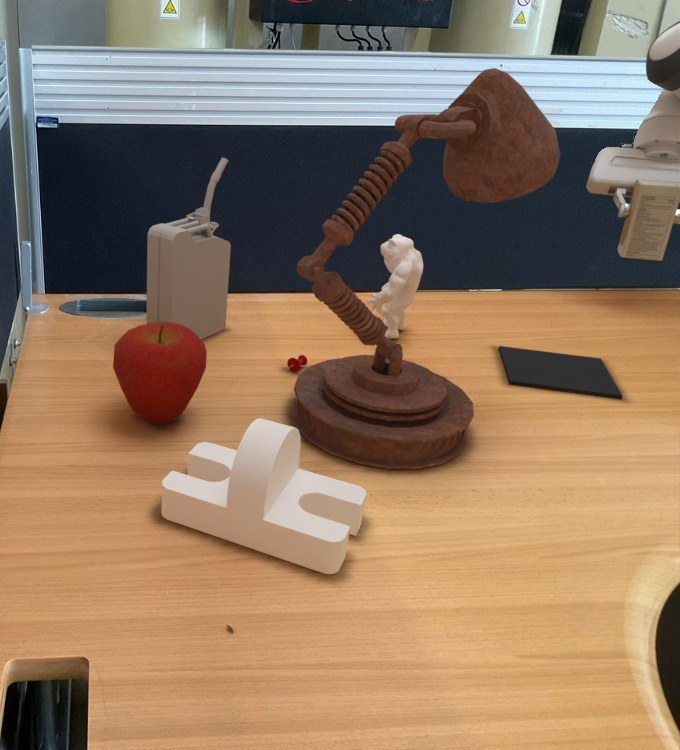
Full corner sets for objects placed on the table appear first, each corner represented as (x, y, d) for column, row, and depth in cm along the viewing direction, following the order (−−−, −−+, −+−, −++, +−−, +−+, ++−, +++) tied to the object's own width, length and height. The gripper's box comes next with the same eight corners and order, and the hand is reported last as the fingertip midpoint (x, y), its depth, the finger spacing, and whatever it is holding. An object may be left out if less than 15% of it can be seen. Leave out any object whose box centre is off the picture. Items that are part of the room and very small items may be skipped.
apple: (134, 389, 98) (135, 301, 92) (214, 405, 95) (219, 315, 89) (98, 430, 88) (96, 335, 83) (185, 449, 85) (189, 351, 80)
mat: (599, 361, 110) (600, 358, 110) (621, 398, 100) (622, 395, 100) (498, 348, 113) (499, 345, 113) (509, 383, 103) (510, 380, 103)
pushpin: (291, 377, 102) (293, 364, 101) (279, 372, 103) (280, 359, 103) (308, 368, 105) (310, 355, 104) (295, 364, 106) (297, 351, 105)
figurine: (400, 349, 112) (418, 251, 105) (357, 339, 115) (371, 243, 108) (418, 326, 120) (436, 233, 113) (377, 317, 123) (392, 226, 116)
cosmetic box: (656, 254, 127) (680, 181, 122) (662, 262, 124) (686, 186, 118) (614, 250, 129) (635, 177, 124) (618, 257, 125) (640, 182, 120)
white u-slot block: (335, 577, 67) (350, 481, 63) (157, 516, 74) (159, 426, 70) (363, 519, 75) (379, 430, 70) (199, 468, 82) (203, 384, 77)
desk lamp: (546, 429, 92) (649, 77, 74) (342, 499, 78) (408, 82, 60) (420, 361, 108) (479, 59, 90) (231, 408, 94) (257, 60, 76)
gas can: (211, 315, 121) (219, 155, 110) (235, 324, 118) (247, 160, 107) (144, 342, 111) (146, 169, 100) (169, 353, 108) (175, 175, 97)
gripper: (597, 130, 127) (583, 200, 124) (740, 141, 120) (730, 216, 116) (589, 153, 133) (576, 220, 129) (725, 165, 126) (715, 237, 122)
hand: (650, 218), depth 123 cm, fingers closed on cosmetic box, 6 cm apart
